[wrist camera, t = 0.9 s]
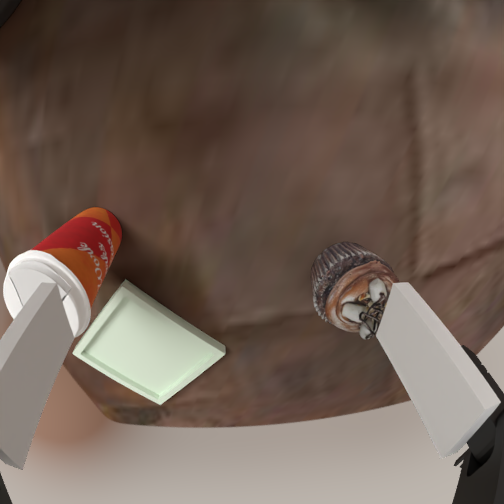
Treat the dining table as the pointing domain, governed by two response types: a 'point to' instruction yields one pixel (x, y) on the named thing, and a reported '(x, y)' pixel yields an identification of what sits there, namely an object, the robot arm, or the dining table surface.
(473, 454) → the robot arm
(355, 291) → the cupcake
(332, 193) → the dining table surface
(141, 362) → the tray
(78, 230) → the coffee cup
